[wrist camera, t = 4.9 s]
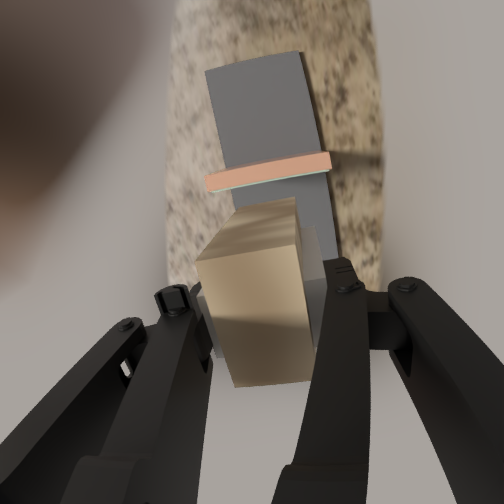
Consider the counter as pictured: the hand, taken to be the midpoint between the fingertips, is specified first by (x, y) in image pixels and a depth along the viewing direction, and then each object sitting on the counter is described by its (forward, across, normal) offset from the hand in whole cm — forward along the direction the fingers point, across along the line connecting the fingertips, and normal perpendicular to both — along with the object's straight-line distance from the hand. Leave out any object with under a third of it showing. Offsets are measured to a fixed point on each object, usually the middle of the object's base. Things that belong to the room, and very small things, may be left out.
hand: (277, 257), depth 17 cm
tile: (+16, 0, +4) cm, 16 cm away
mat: (+16, 0, +3) cm, 16 cm away
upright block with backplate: (+1, 0, 0) cm, 1 cm away
